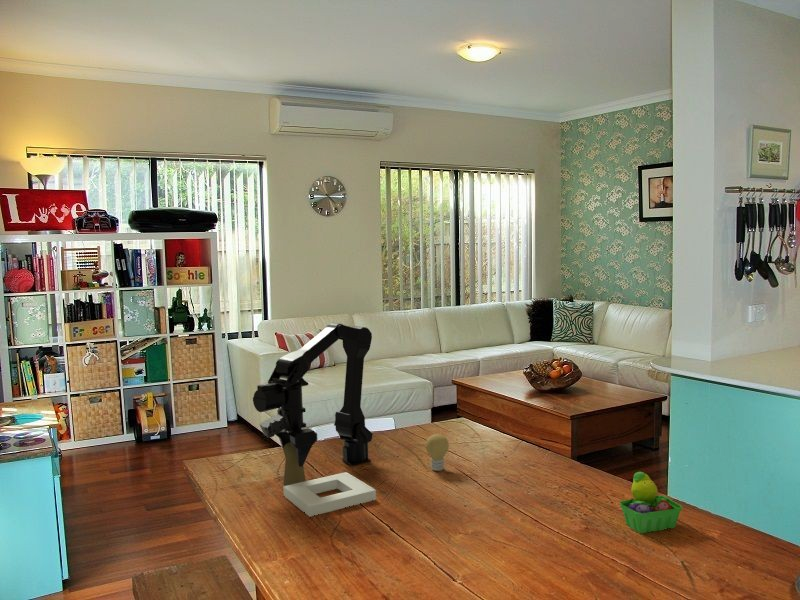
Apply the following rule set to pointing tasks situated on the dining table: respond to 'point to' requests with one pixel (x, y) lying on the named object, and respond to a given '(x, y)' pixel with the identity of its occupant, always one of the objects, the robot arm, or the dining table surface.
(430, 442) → the light bulb
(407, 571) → the dining table surface
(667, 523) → the fruit basket
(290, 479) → the olive green peg
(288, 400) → the robot arm
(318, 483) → the socket board
